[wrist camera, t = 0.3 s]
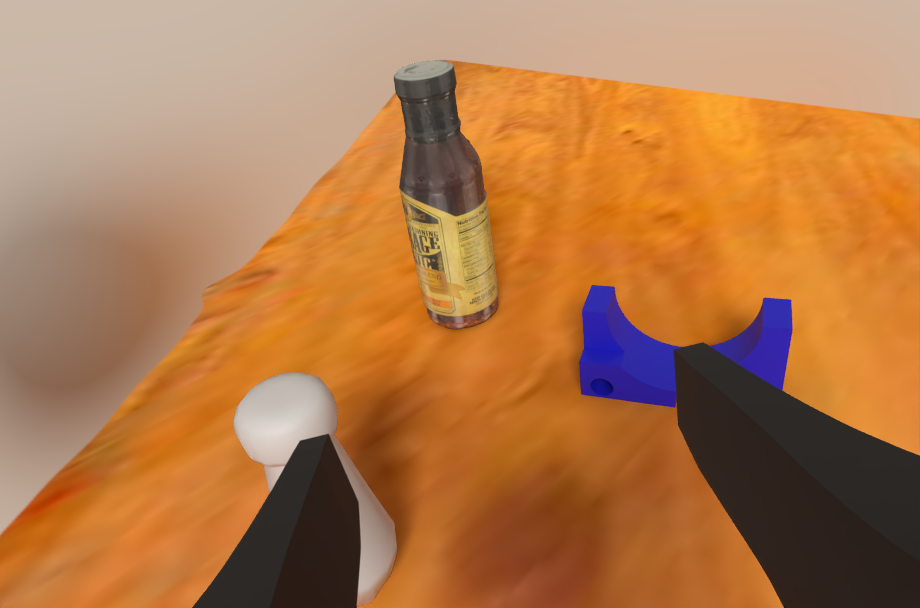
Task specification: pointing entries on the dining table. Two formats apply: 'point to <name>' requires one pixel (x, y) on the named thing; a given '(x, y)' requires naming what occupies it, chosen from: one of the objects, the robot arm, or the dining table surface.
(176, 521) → the dining table surface
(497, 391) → the dining table surface
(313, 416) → the salt shaker
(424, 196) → the sauce bottle
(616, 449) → the dining table surface
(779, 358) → the blue cradle stand
